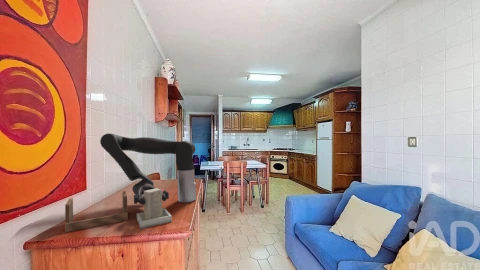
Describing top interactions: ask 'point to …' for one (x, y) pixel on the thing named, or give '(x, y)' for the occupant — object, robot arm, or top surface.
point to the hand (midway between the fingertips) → (154, 200)
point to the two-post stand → (94, 221)
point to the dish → (157, 221)
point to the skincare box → (152, 204)
